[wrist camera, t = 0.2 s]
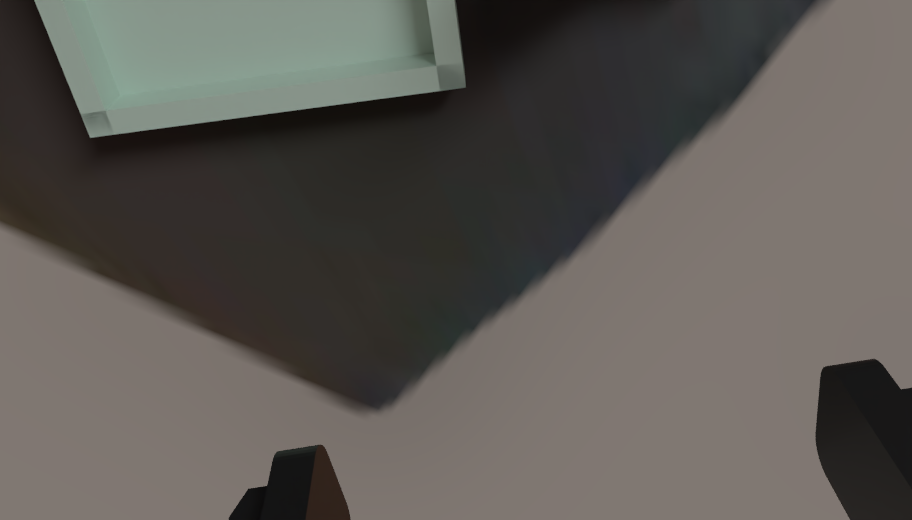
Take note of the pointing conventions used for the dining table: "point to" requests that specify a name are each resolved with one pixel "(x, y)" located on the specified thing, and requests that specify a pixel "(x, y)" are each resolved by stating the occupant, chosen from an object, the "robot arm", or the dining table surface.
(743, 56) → the dining table surface
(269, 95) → the tray
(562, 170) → the dining table surface
